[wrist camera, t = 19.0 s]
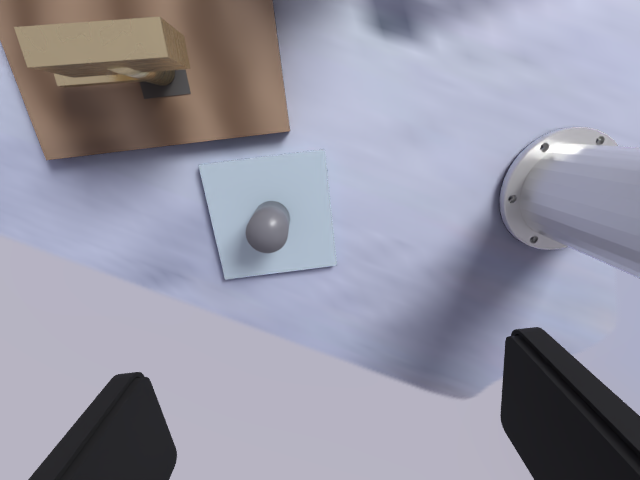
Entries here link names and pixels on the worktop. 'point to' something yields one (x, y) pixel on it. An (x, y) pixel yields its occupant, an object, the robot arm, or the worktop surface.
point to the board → (150, 99)
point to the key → (105, 51)
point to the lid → (271, 213)
